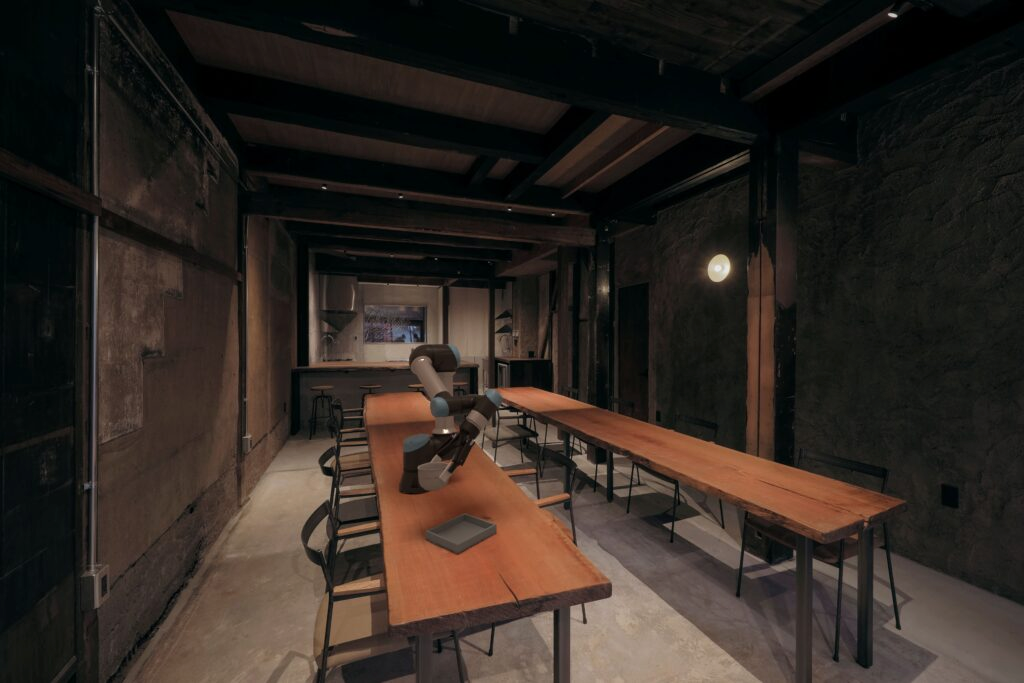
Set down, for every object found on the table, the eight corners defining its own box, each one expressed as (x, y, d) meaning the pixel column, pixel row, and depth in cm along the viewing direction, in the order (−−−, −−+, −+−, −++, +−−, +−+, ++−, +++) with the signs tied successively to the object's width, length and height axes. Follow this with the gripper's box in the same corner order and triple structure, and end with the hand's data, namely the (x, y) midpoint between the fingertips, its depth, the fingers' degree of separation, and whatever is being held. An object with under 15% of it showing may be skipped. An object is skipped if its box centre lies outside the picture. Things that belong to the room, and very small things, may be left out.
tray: (425, 539, 139) (425, 530, 139) (464, 521, 154) (464, 513, 154) (457, 554, 130) (457, 544, 130) (496, 533, 144) (496, 524, 144)
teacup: (421, 495, 138) (421, 471, 138) (414, 485, 148) (414, 462, 148) (462, 488, 144) (461, 465, 144) (452, 479, 154) (452, 458, 154)
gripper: (496, 437, 147) (457, 491, 138) (463, 427, 166) (427, 473, 156) (483, 423, 144) (442, 478, 134) (451, 415, 163) (414, 462, 153)
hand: (434, 475), depth 145 cm, fingers closed on teacup, 11 cm apart
